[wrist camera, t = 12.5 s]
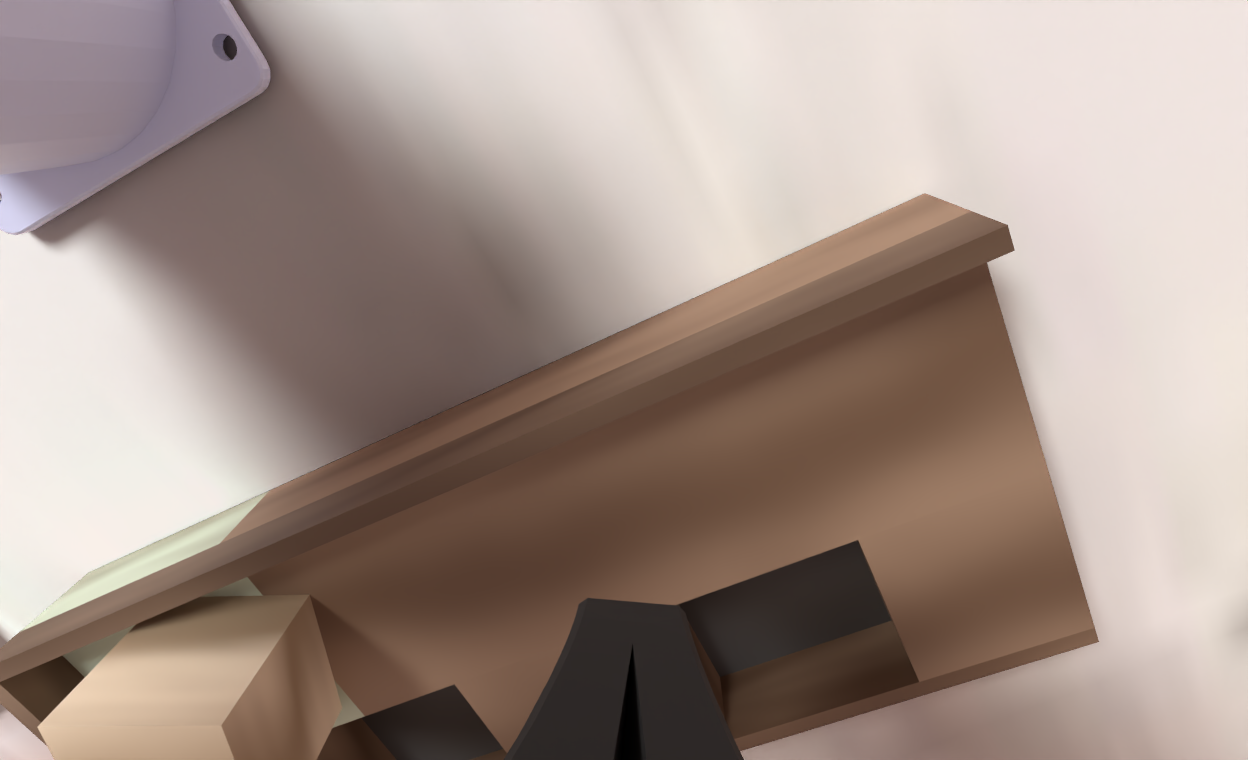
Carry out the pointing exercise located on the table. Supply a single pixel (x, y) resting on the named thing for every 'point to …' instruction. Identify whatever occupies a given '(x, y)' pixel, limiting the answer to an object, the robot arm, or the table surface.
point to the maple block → (205, 687)
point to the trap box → (664, 514)
